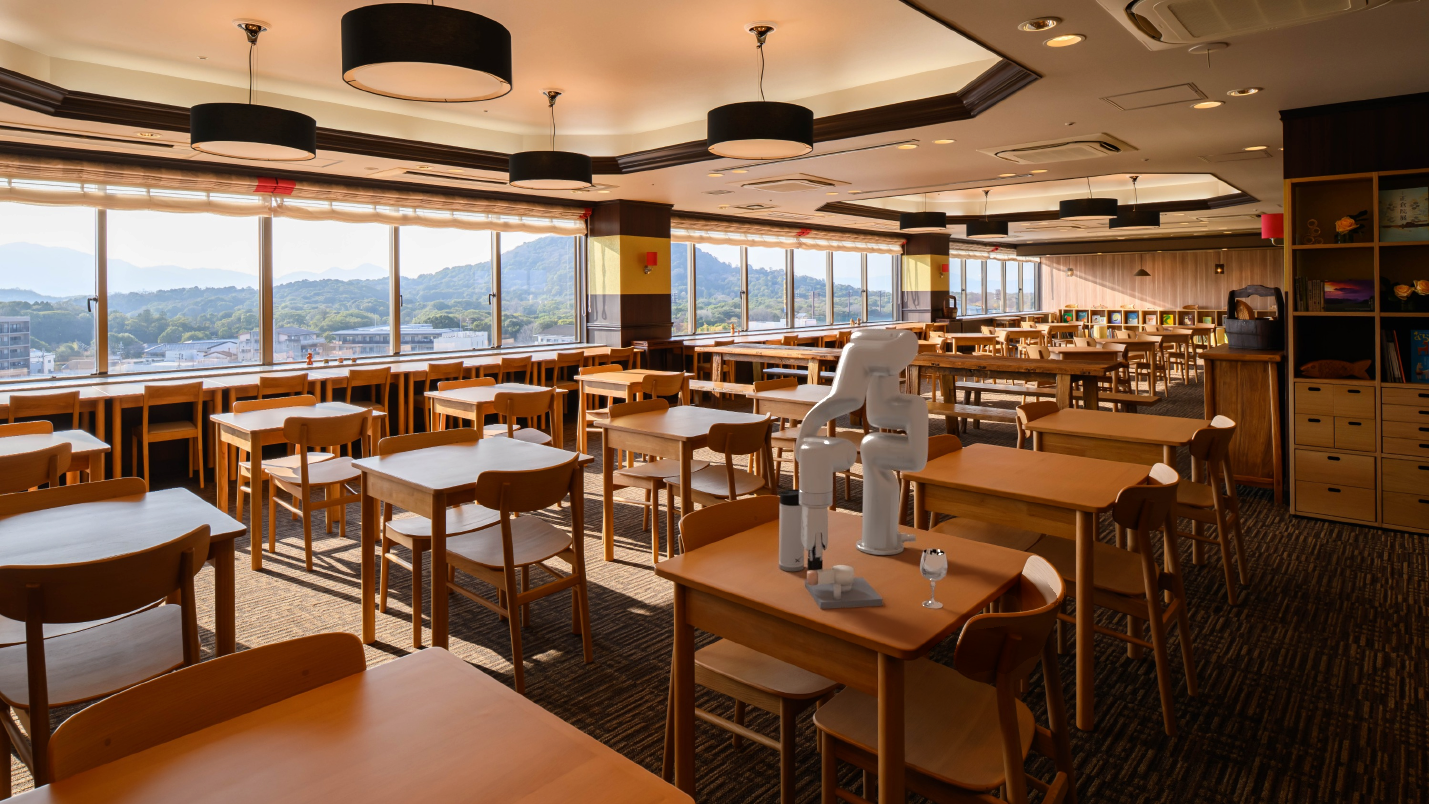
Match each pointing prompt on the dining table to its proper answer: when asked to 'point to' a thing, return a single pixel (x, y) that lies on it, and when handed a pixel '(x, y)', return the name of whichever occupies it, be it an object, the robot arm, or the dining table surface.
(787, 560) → the travel mug
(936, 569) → the wineglass
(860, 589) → the post board
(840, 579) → the lever cap
